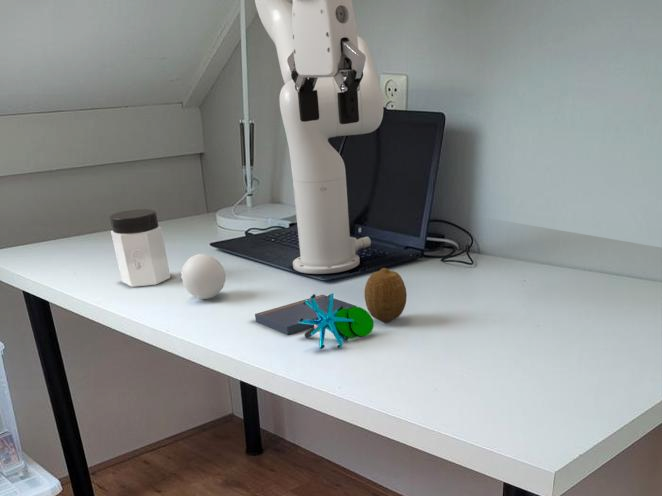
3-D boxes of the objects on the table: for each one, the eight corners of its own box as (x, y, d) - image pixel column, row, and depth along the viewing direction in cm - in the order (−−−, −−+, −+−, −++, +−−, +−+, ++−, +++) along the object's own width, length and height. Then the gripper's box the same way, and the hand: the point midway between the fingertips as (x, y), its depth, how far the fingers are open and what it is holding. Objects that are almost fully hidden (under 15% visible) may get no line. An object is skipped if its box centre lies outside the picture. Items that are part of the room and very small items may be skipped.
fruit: (368, 315, 115) (365, 262, 111) (409, 314, 114) (407, 261, 110) (363, 329, 110) (359, 274, 106) (405, 328, 109) (403, 273, 105)
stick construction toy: (312, 342, 99) (301, 287, 100) (286, 360, 105) (277, 308, 106) (383, 345, 106) (373, 293, 107) (356, 362, 112) (346, 313, 113)
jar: (119, 288, 136) (103, 220, 130) (125, 276, 143) (110, 211, 137) (168, 284, 137) (155, 216, 131) (172, 272, 144) (160, 207, 138)
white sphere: (237, 294, 129) (231, 251, 125) (207, 307, 124) (199, 262, 120) (196, 287, 134) (189, 245, 130) (165, 299, 129) (157, 256, 125)
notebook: (323, 301, 122) (322, 294, 122) (357, 313, 116) (356, 305, 116) (255, 321, 116) (254, 313, 115) (287, 334, 110) (286, 326, 109)
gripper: (380, -24, 98) (386, 121, 106) (305, -13, 109) (315, 117, 118) (334, -23, 94) (344, 127, 102) (261, -12, 106) (275, 122, 114)
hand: (329, 121), depth 110 cm, fingers open, 9 cm apart
